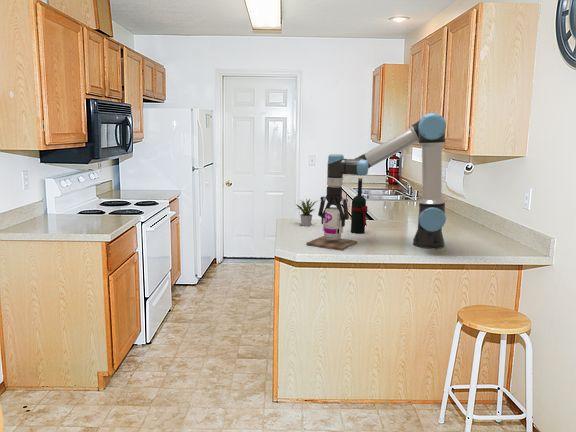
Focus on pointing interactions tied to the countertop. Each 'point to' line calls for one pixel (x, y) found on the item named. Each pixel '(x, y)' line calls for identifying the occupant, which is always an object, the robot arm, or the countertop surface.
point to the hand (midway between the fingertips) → (332, 231)
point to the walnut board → (332, 243)
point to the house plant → (306, 213)
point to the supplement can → (332, 223)
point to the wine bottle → (358, 211)
